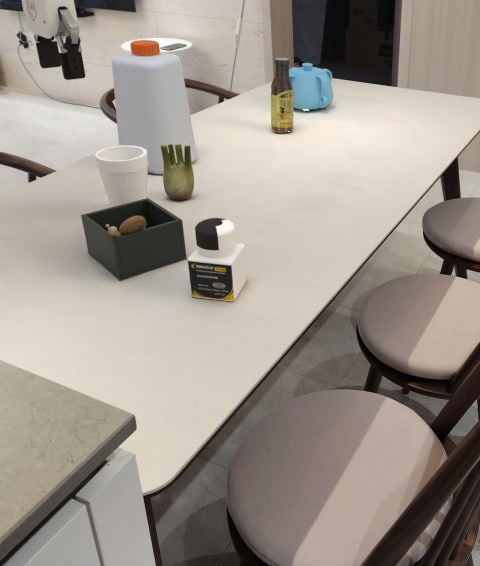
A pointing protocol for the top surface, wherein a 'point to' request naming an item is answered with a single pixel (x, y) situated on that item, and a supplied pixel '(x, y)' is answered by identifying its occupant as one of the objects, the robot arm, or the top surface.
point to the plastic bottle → (152, 102)
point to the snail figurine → (128, 226)
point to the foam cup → (123, 173)
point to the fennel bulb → (177, 172)
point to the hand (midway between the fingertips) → (62, 72)
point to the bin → (134, 238)
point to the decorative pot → (311, 87)
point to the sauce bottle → (281, 97)
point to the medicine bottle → (217, 261)
